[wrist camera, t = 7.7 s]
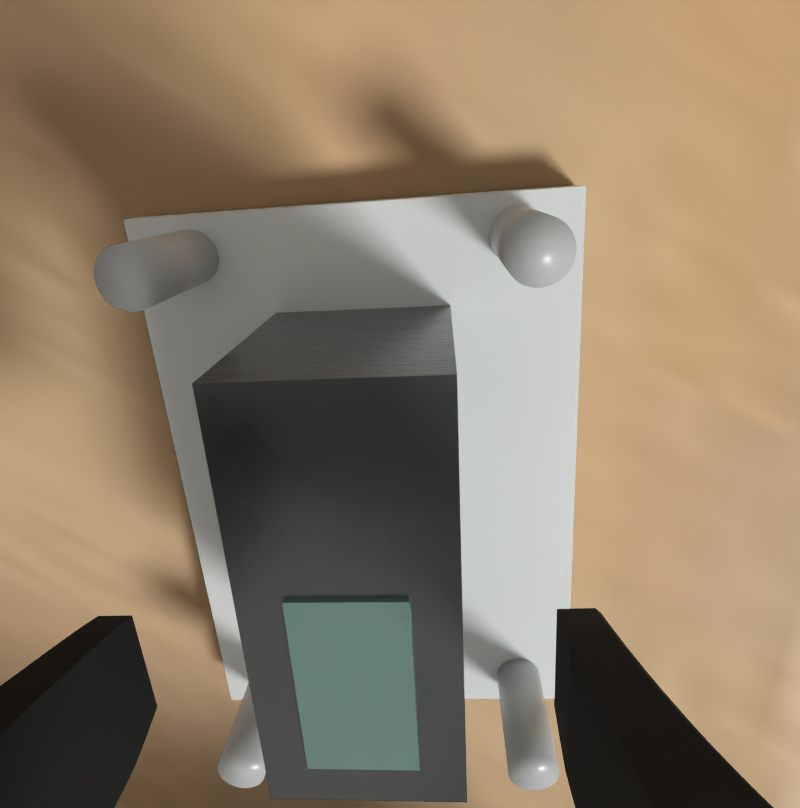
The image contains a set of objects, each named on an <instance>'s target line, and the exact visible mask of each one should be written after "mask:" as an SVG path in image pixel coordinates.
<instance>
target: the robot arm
mask: <svg viewBox="0 0 800 808" xmlns="http://www.w3.org/2000/svg"><path fill="white" fill-rule="evenodd" d="M554 706H555V712H556V718H557V724H558V730H559V736H560V742H561V748H562V753H563V759H564V765H565V770H566V774H567V778H568V782H569V786H570V789H571V793H572V797H573V800H574V804H575V808H773V807H772V806H771V805H770V804H769V803H768V802H767V801H766V800H765V799H764V798H763V797H762V796H761V795H760V794H759V793H758V792H757V791H756V790H755V789H754V788H753V787H752V786H751V785H750V784H749V783H748V782H747V781H746V780H745V779H744V778H743V777H742V776H741V775H740V774H739V773H738V772H737V771H736V770H735V769H734V768H733V767H732V766H731V765H730V764H729V763H728V762H727V761H726V760H725V759H724V758H723V757H722V756H721V755H720V754H719V753H718V752H717V750H716V749H715V748H714V747H713V746H712V745H711V744H710V743H709V742H708V741H707V740H706V739H705V738H704V737H703V736H702V734H701V733H700V732H699V731H698V730H697V729H696V728H695V727H694V726H693V725H692V724H691V722H690V721H689V720H688V719H687V718H686V717H685V716H684V714H683V713H682V712H681V711H680V710H679V709H678V708H677V707H676V705H675V704H674V703H673V702H672V701H671V700H670V699H669V697H668V696H667V695H666V694H665V693H664V692H663V691H662V689H661V688H660V687H659V686H658V685H657V684H656V682H655V681H654V680H653V679H652V678H651V676H650V675H649V674H648V673H647V672H646V670H645V669H644V668H643V667H642V665H641V664H640V663H639V662H638V660H637V659H636V658H635V657H634V656H633V654H632V653H631V652H630V651H629V649H628V648H627V647H626V645H625V644H624V643H623V642H622V640H621V639H620V638H619V636H618V635H617V634H616V633H615V631H614V630H613V629H612V627H611V626H610V625H609V623H608V622H607V621H606V619H605V618H604V617H603V615H602V614H601V613H600V612H599V611H598V610H597V609H596V608H585V609H557V624H556V663H555V702H554ZM156 708H157V704H156V701H155V697H154V693H153V690H152V686H151V683H150V679H149V675H148V672H147V668H146V665H145V661H144V657H143V654H142V650H141V647H140V643H139V640H138V636H137V632H136V629H135V625H134V622H133V618H132V616H98V617H96V618H95V619H93V620H92V621H90V622H89V623H87V624H86V625H84V626H83V627H81V628H80V629H78V630H77V631H75V632H74V633H72V634H71V635H70V636H68V637H67V638H65V639H64V640H63V641H61V642H60V643H59V644H57V645H56V646H54V647H53V648H52V649H50V650H49V651H48V652H46V653H45V654H43V655H42V656H41V657H39V658H38V659H37V660H35V661H34V662H33V663H31V664H30V665H28V666H27V667H26V668H24V669H23V670H22V671H20V672H19V673H18V674H16V675H15V676H13V677H12V678H11V679H9V680H8V681H7V682H5V683H4V684H2V685H1V686H0V808H114V807H115V805H116V803H117V801H118V799H119V797H120V795H121V793H122V791H123V789H124V788H125V786H126V784H127V781H128V779H129V777H130V775H131V773H132V771H133V769H134V767H135V764H136V762H137V759H138V757H139V754H140V752H141V749H142V747H143V744H144V741H145V739H146V736H147V733H148V730H149V728H150V725H151V722H152V719H153V716H154V714H155V711H156Z"/></svg>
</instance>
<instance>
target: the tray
mask: <svg viewBox="0 0 800 808" xmlns="http://www.w3.org/2000/svg"><path fill="white" fill-rule="evenodd" d="M585 200H586V186H581V185H570V186H557V187H543V188H530V189H516V190H502V191H489V192H475V193H461V194H448V195H434V196H420V197H407V198H393V199H379V200H366V201H352V202H338V203H325V204H311V205H298V206H284V207H270V208H257V209H243V210H229V211H216V212H202V213H188V214H175V215H161V216H147V217H139V218H131V219H124V220H123V221H124V225H125V230H126V234H127V238H128V242H124V243H120V244H115V245H112V246H109V247H107V248H106V249H104V250H103V251H102V252H101V253H100V254H99V256H98V258H97V259H96V262H95V266H94V278H95V282H96V285H97V288H98V290H99V292H100V293H101V295H102V296H103V297H104V298H105V299H106V301H108V302H109V303H110V304H111V305H113V306H114V307H116V308H118V309H120V310H123V311H126V312H140V311H143V310H144V314H145V318H146V323H147V327H148V332H149V336H150V340H151V345H152V349H153V354H154V358H155V363H156V367H157V371H158V376H159V380H160V385H161V389H162V394H163V398H164V402H165V407H166V411H167V416H168V420H169V425H170V429H171V433H172V438H173V442H174V447H175V451H176V456H177V460H178V465H179V469H180V473H181V478H182V482H183V487H184V491H185V496H186V500H187V504H188V509H189V513H190V518H191V522H192V527H193V531H194V535H195V540H196V544H197V549H198V553H199V558H200V562H201V566H202V571H203V575H204V580H205V584H206V589H207V593H208V597H209V602H210V606H211V611H212V615H213V620H214V624H215V628H216V633H217V637H218V642H219V646H220V651H221V655H222V660H223V664H224V668H225V673H226V677H227V682H228V686H229V691H230V695H231V699H232V700H242V702H241V704H240V707H239V710H238V712H237V715H236V718H235V720H234V723H233V726H232V728H231V731H230V734H229V736H228V739H227V742H226V744H225V747H224V750H223V752H222V755H221V758H220V760H219V763H218V767H217V769H218V773H219V775H220V777H221V778H222V779H223V780H224V781H225V782H227V783H228V784H230V785H232V786H235V787H239V788H251V787H255V786H257V785H259V784H260V783H261V782H262V781H263V780H264V777H265V774H266V770H265V765H264V760H263V754H262V749H261V744H260V739H259V733H258V728H257V723H256V718H255V712H254V707H253V702H252V697H251V691H250V686H249V681H248V676H247V670H246V665H245V660H244V655H243V649H242V644H241V639H240V634H239V628H238V623H237V618H236V613H235V607H234V602H233V597H232V591H231V586H230V581H229V576H228V570H227V565H226V560H225V555H224V549H223V544H222V539H221V534H220V528H219V523H218V518H217V513H216V507H215V502H214V497H213V492H212V486H211V481H210V476H209V471H208V465H207V460H206V455H205V450H204V444H203V439H202V434H201V429H200V423H199V418H198V413H197V408H196V402H195V397H194V392H193V386H192V383H193V382H194V381H196V380H197V379H198V378H199V377H200V376H202V375H203V374H204V373H205V372H206V371H207V370H209V369H210V368H211V367H212V366H213V365H215V364H216V363H217V362H218V361H219V360H221V359H222V358H223V357H224V356H225V355H226V354H228V353H229V352H230V351H231V350H232V349H234V348H235V347H236V346H237V345H238V344H239V343H241V342H242V341H243V340H244V339H245V338H247V337H248V336H249V335H250V334H251V333H253V332H254V331H255V330H256V329H257V328H258V327H260V326H261V325H262V324H263V323H264V322H266V321H267V320H268V319H269V318H270V317H271V316H273V315H274V314H275V313H283V312H306V311H329V310H352V309H375V308H398V307H421V306H444V305H450V306H451V316H452V327H453V337H454V348H455V358H456V368H457V393H458V436H459V480H460V523H461V567H462V610H463V654H464V697H465V699H500V706H501V714H502V722H503V731H504V739H505V748H506V756H507V765H508V773H509V778H510V780H511V781H512V782H513V783H514V784H515V785H516V786H518V787H520V788H523V789H526V790H541V789H545V788H547V787H549V786H551V785H553V784H554V783H555V782H556V780H557V779H558V776H559V768H558V763H557V758H556V753H555V748H554V743H553V738H552V733H551V728H550V724H549V719H548V714H547V709H546V704H545V699H550V698H555V663H556V624H557V609H570V602H571V575H572V548H573V521H574V495H575V468H576V441H577V414H578V388H579V361H580V334H581V307H582V281H583V254H584V227H585Z"/></svg>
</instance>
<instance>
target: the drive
mask: <svg viewBox="0 0 800 808" xmlns="http://www.w3.org/2000/svg"><path fill="white" fill-rule="evenodd" d="M192 386H193V392H194V397H195V402H196V408H197V413H198V418H199V423H200V429H201V434H202V439H203V444H204V450H205V455H206V460H207V465H208V471H209V476H210V481H211V486H212V492H213V497H214V502H215V507H216V513H217V518H218V523H219V528H220V534H221V539H222V544H223V549H224V555H225V560H226V565H227V570H228V576H229V581H230V586H231V591H232V597H233V602H234V607H235V613H236V618H237V623H238V628H239V634H240V639H241V644H242V649H243V655H244V660H245V665H246V670H247V676H248V681H249V686H250V691H251V697H252V702H253V707H254V712H255V718H256V723H257V728H258V733H259V739H260V744H261V749H262V754H263V760H264V765H265V770H266V775H267V781H268V786H269V791H270V796H271V799H321V800H372V801H423V802H467V784H466V741H465V697H464V654H463V610H462V567H461V523H460V480H459V436H458V393H457V368H456V358H455V348H454V337H453V327H452V316H451V306H450V305H444V306H421V307H398V308H375V309H352V310H329V311H306V312H283V313H275V314H274V315H273V316H271V317H270V318H269V319H268V320H267V321H266V322H264V323H263V324H262V325H261V326H260V327H258V328H257V329H256V330H255V331H254V332H253V333H251V334H250V335H249V336H248V337H247V338H245V339H244V340H243V341H242V342H241V343H239V344H238V345H237V346H236V347H235V348H234V349H232V350H231V351H230V352H229V353H228V354H226V355H225V356H224V357H223V358H222V359H221V360H219V361H218V362H217V363H216V364H215V365H213V366H212V367H211V368H210V369H209V370H207V371H206V372H205V373H204V374H203V375H202V376H200V377H199V378H198V379H197V380H196V381H194V382H193V383H192Z"/></svg>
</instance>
